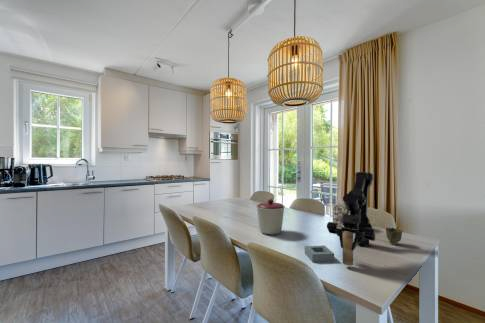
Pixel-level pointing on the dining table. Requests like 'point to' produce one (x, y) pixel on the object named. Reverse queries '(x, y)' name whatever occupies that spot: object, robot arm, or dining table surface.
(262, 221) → the canister
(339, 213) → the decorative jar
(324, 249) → the socket block
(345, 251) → the walnut dowel
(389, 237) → the cup
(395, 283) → the dining table surface
